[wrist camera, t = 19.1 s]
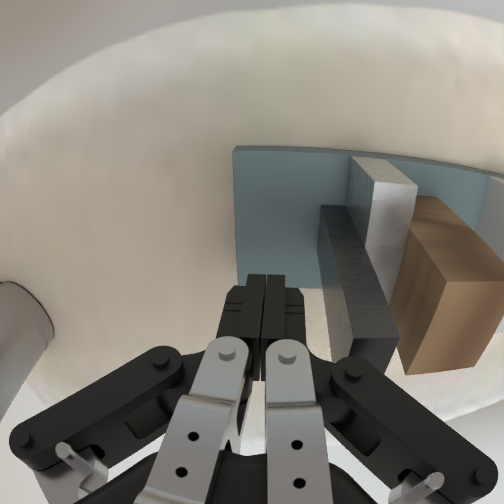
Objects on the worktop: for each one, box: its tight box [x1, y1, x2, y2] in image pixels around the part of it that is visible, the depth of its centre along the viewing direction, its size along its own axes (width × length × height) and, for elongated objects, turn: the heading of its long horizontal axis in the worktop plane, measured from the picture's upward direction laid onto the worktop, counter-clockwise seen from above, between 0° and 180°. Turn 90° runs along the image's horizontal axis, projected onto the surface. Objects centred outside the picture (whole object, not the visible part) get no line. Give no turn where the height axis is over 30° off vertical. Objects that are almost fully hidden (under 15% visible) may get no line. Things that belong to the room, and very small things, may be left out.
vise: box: [233, 146, 504, 333], centre depth 16 cm, size 20×9×6 cm, turn 91°
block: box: [389, 195, 504, 375], centre depth 14 cm, size 4×5×9 cm
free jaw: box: [317, 156, 418, 374], centre depth 13 cm, size 4×9×10 cm, turn 1°
